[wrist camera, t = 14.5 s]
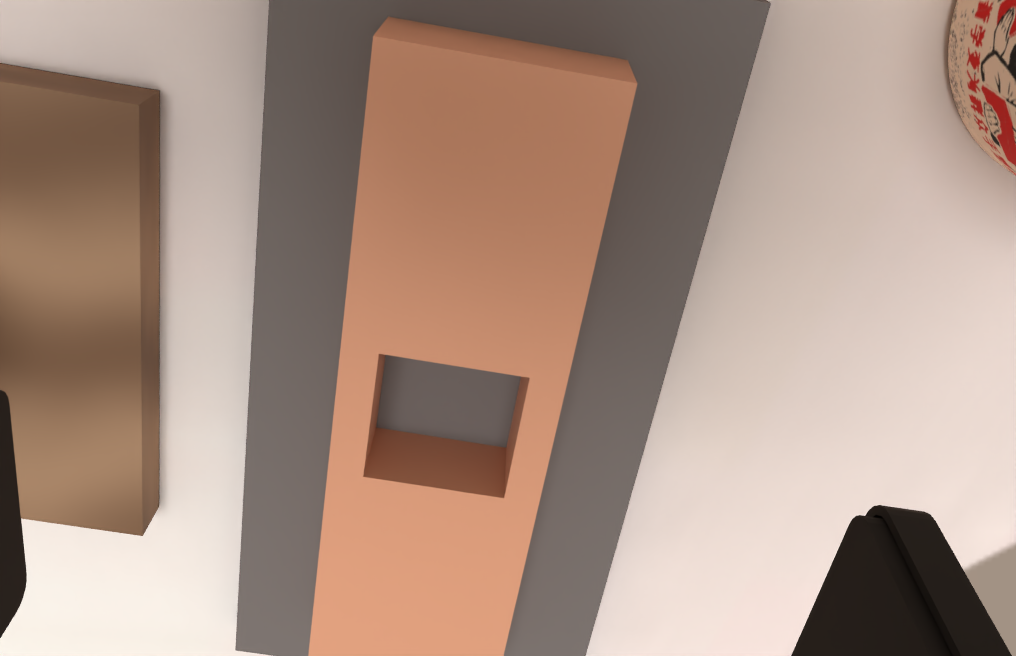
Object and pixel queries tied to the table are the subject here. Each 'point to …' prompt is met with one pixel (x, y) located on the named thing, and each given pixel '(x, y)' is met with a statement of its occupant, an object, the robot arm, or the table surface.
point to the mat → (458, 390)
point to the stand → (80, 296)
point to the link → (459, 325)
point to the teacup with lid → (986, 74)
